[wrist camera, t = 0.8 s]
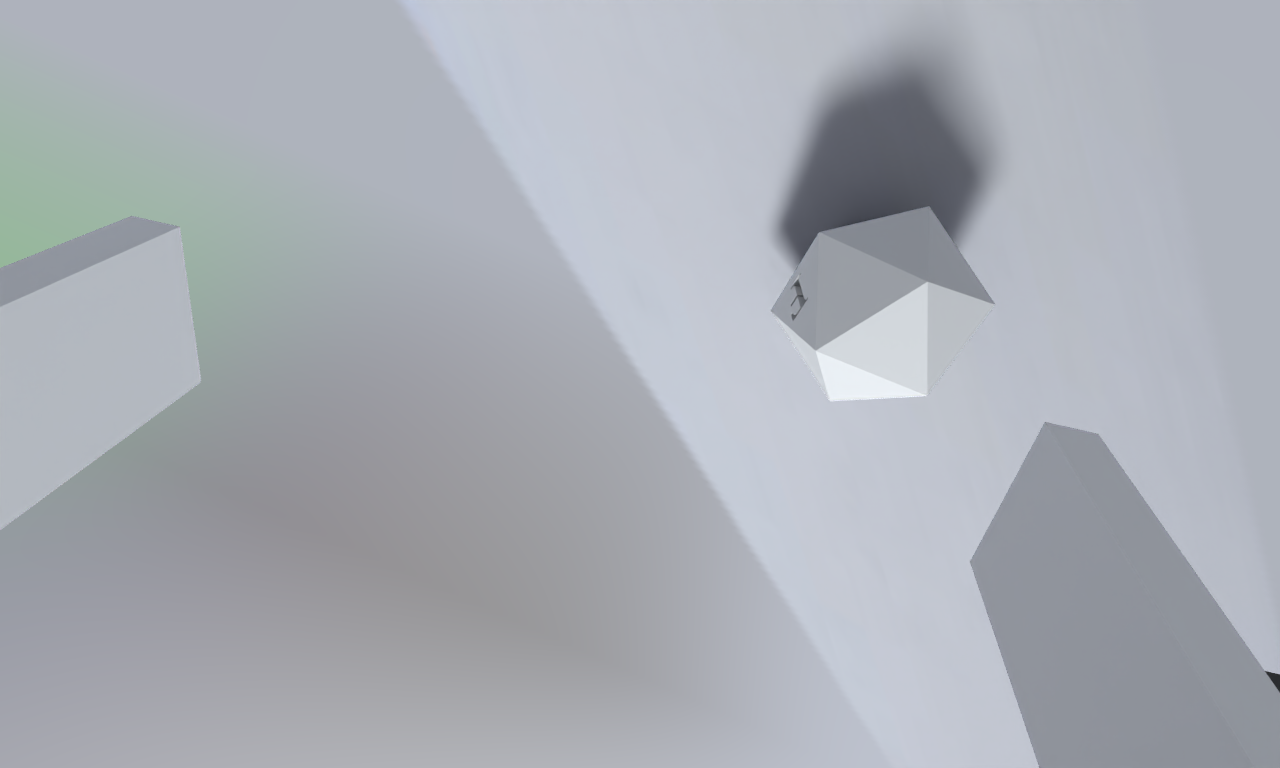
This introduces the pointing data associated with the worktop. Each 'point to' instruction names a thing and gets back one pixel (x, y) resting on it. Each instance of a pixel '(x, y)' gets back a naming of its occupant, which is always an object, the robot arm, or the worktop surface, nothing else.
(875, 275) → the die
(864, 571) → the worktop surface
